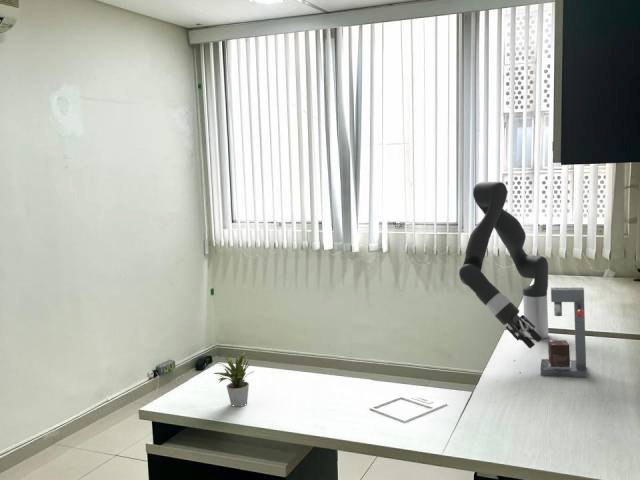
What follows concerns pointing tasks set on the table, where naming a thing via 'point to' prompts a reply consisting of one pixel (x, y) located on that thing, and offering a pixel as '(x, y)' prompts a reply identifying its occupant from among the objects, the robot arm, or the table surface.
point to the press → (578, 365)
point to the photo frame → (415, 399)
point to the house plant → (236, 381)
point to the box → (559, 353)
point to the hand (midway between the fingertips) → (536, 343)
